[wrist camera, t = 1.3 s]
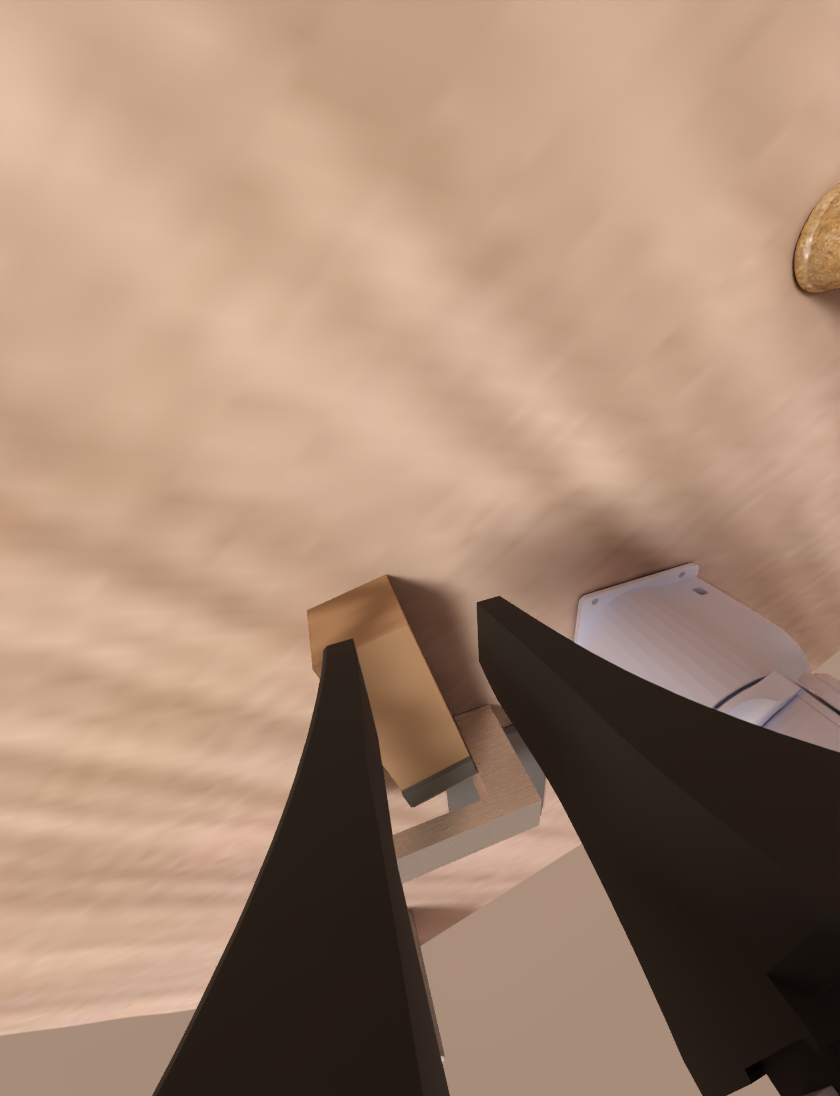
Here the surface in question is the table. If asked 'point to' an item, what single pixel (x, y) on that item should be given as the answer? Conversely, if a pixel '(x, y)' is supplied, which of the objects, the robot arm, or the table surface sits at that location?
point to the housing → (484, 822)
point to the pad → (467, 790)
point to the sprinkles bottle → (820, 246)
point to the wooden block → (395, 689)
